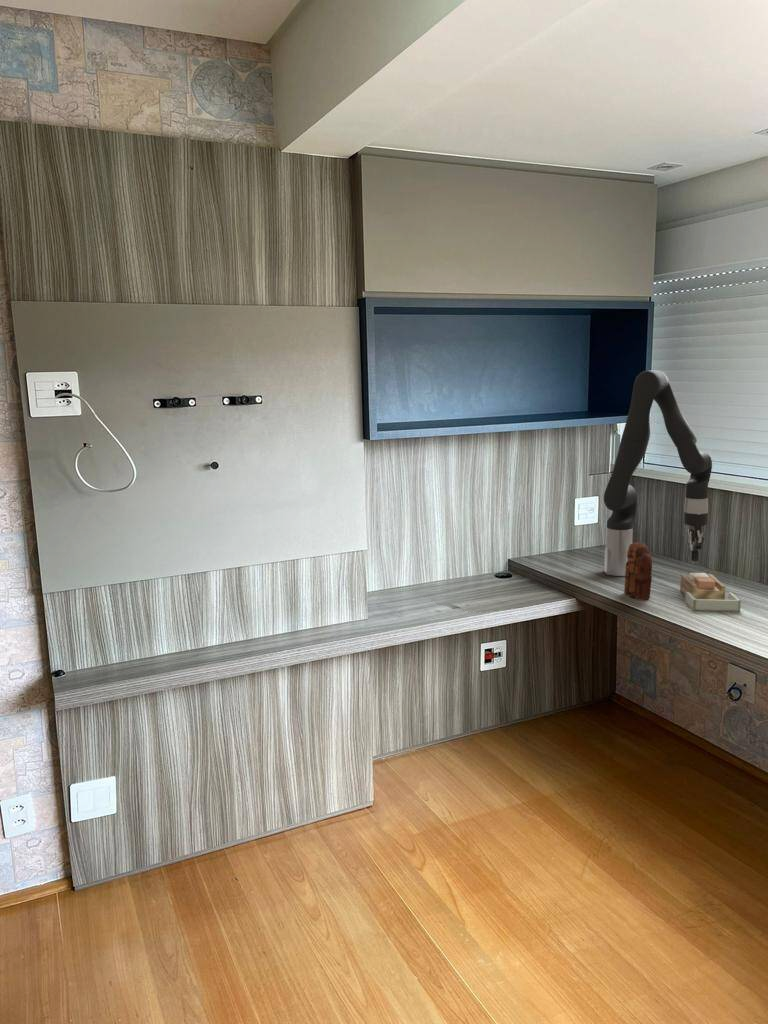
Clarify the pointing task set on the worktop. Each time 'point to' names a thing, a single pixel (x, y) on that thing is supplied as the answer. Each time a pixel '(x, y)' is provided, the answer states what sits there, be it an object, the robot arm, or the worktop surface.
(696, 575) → the tile
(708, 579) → the tile
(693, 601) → the tray
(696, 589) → the wooden u-channel
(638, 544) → the wooden figurine
